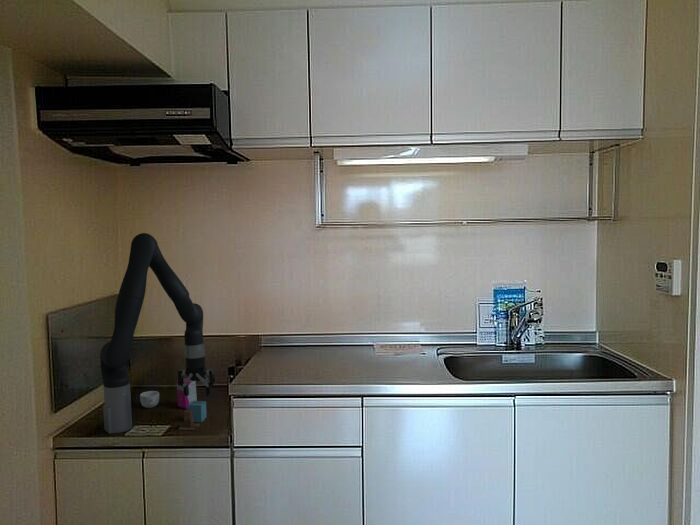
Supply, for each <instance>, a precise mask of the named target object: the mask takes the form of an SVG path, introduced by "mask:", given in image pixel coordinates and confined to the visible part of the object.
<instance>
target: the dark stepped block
mask: <svg viewBox="0 0 700 525" xmlns="http://www.w3.org/2000/svg"><path fill="white" fill-rule="evenodd" d="M197 426H198V427H199V426H201V425H200V423H198V422H194V421H193V410H188V409H184V411H183V424H182V425H181V426H179V427H178V431H187V430H194V429H195V428H196V427H197ZM198 427H197V428H198ZM197 428H196V429H197ZM196 429H195V430H196ZM195 430H194V431H195Z"/></svg>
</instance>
